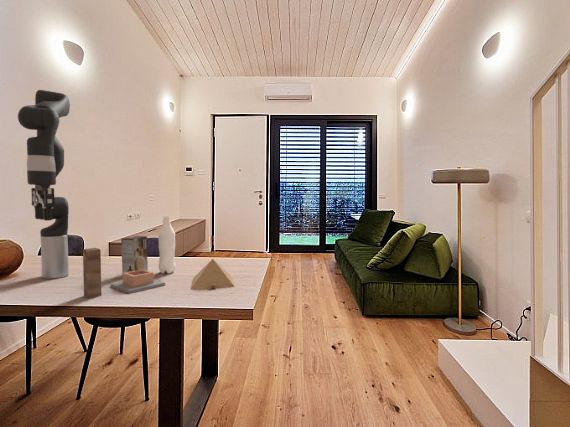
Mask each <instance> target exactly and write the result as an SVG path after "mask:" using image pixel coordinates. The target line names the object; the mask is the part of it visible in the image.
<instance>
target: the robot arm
mask: <svg viewBox="0 0 570 427" xmlns="http://www.w3.org/2000/svg"><path fill="white" fill-rule="evenodd" d="M34 96H35V97H34V102H35V103H34V105H33V104H31V105H25V106H22V107H21V108H20V109H19V111H18V113H17V120H18V122H19V125H21V127H23V128H25V129H27V130H31V131H32V130H33V131H36V136H31V137H28V139H27V140H26V152H27V153H26V154H27V156H26V172H27V173H26V176H27V178H26V179H27V180H26V181H27V185H30V186H31V185H33V186H35V187H31V189H30V190H31V206H32V207H33V208H34V219H35V220H40V221H43V220H44V221H46V222H47V221H53V220H54V222H53V223H51V224H50V225H48V226H47V227H44V228H41V229H40V234H39V236H40V257H41V259H40V260H41V263H40V264H41V278H42V279H59V278H65V277H67V276H69V274H70V273H69V243H68V242H69V241H68V237H69V236H68V230H69V212H70V211H69V202H68V200H67V198H66V197H64V196H63V197H62V196H55V188H53V187H52V188H51V186H55V185H57V177H58V176H59V174H60V172H62V170H63V169H64V166H65V149H64V147H63V145H62V143H61V142H60V140H59V139H58V137H57V136H56V135H57V131H58V129H59V126H60V118H64V117H67V116H68V115H69V113H70V106H71V103H70V99H69V97H68V96H67V95H66V94H65V93H61V92H57V91H56V92H55V91H50V90H45V89H44V90H43V89H38V90H37V91H36V92H35V95H34Z"/></svg>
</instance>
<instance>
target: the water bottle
mask: <svg viewBox="0 0 570 427" xmlns="http://www.w3.org/2000/svg"><path fill="white" fill-rule="evenodd" d="M171 223H172V221H171V216H169V215H168V216H167V215H166V216H163V217H162V225H161V227H160V229H159V231H158V233H157V236H158V252H159V260H158V270H159V272H160V274H162V275H163V274H165V273H167V274H172V273H174V272H175V271H176V268H177V267H176V259H175V253H176V252H175V251H176V250H175V249H176V232H175V230H174V228H173V226H172V224H171Z"/></svg>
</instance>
